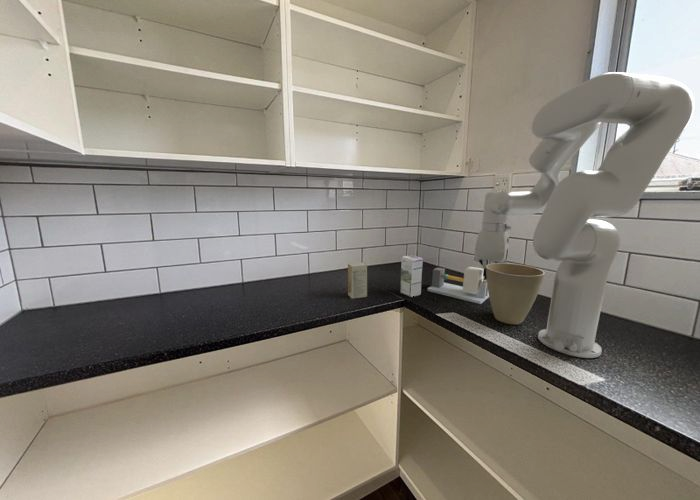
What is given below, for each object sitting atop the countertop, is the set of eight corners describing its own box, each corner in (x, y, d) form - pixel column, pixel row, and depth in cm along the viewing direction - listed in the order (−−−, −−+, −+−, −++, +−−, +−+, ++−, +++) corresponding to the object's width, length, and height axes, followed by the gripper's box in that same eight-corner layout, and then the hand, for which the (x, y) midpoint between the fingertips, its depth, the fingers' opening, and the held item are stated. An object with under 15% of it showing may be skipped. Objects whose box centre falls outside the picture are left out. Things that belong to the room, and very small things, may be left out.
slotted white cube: (476, 294, 99) (478, 272, 97) (462, 291, 102) (464, 269, 101) (481, 290, 103) (484, 268, 102) (468, 287, 106) (470, 266, 105)
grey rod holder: (486, 305, 94) (489, 283, 93) (427, 290, 109) (428, 271, 107) (496, 296, 103) (499, 276, 101) (440, 284, 117) (441, 265, 116)
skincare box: (363, 293, 105) (363, 262, 102) (367, 297, 101) (368, 264, 98) (347, 294, 103) (347, 263, 100) (350, 299, 99) (351, 266, 96)
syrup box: (421, 294, 104) (423, 257, 101) (410, 297, 101) (412, 259, 98) (410, 290, 109) (412, 254, 106) (399, 293, 105) (401, 256, 103)
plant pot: (490, 305, 94) (495, 260, 91) (542, 319, 84) (549, 269, 81) (472, 318, 84) (478, 268, 81) (529, 336, 73) (537, 279, 70)
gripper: (521, 229, 93) (513, 281, 96) (475, 225, 103) (470, 272, 106) (515, 230, 87) (508, 286, 91) (467, 226, 97) (462, 276, 101)
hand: (487, 278), depth 98 cm, fingers closed
